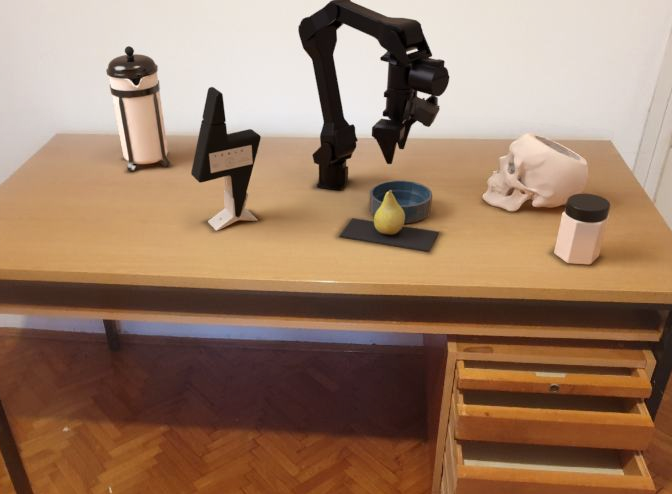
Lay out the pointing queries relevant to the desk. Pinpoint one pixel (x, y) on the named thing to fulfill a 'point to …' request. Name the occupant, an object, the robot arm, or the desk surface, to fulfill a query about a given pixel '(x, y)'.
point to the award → (225, 160)
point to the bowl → (404, 198)
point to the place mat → (403, 238)
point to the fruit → (389, 216)
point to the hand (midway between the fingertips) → (395, 156)
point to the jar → (582, 228)
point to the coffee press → (138, 109)
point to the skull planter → (536, 174)
